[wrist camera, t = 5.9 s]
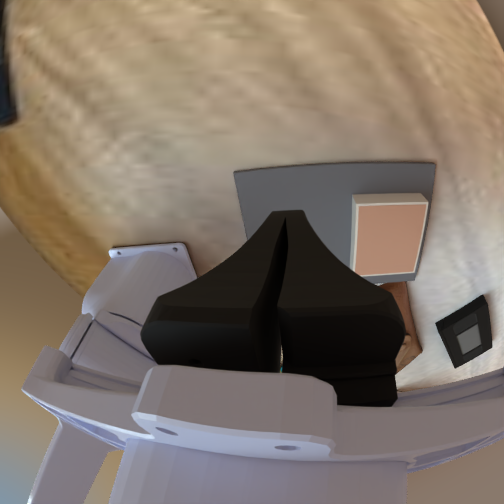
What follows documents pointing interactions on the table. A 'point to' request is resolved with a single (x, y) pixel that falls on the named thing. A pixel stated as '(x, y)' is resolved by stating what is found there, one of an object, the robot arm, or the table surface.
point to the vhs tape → (466, 332)
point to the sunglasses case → (411, 342)
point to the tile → (386, 233)
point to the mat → (330, 197)
